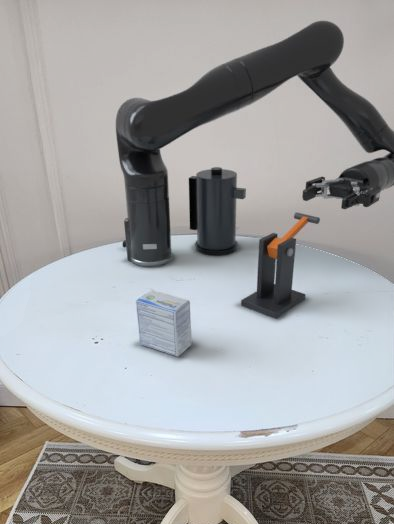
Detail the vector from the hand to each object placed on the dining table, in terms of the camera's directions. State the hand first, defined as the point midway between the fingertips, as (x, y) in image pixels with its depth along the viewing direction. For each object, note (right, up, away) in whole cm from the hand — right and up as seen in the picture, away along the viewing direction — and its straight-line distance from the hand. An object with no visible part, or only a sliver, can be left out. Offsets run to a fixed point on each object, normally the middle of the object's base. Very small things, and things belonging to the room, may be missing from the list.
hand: (323, 199), depth 103 cm
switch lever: (-7, -8, -4) cm, 12 cm away
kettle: (-20, -5, +24) cm, 31 cm away
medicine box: (-30, -29, -13) cm, 43 cm away
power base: (-10, -20, -1) cm, 22 cm away
